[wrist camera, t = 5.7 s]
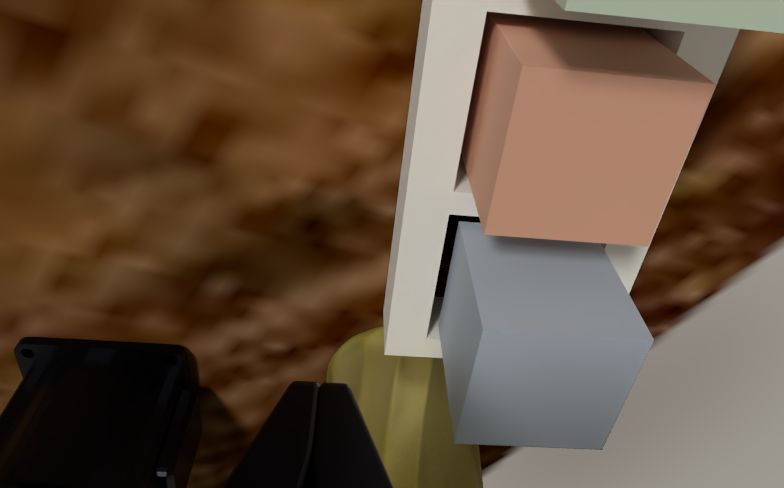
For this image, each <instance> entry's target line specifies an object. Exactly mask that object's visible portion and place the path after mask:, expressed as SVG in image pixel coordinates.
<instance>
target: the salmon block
mask: <svg viewBox="0 0 784 488" xmlns="http://www.w3.org/2000/svg"><path fill="white" fill-rule="evenodd" d="M715 86H716V84H715V83H713V82H712V81H711V80H709V79H708V78H707V77H705V76H704V75H703V74H701V73H700V72H699V71H697V70H696V69H695V68H693V67H692V66H691V65H689V64H688V63H687V62H685V61H684V60H683V59H681V58H680V57H679V56H677V55H676V54H675V53H673V52H672V51H671V50H669V49H668V48H667V47H665V46H664V45H663V44H661V43H660V42H659V41H657V40H656V39H655V38H653V37H652V36H651V35H649V34H648V33H647V32H645V31H644V30H643V29H641V28H640V27H633V26H624V25H614V24H604V23H595V22H585V21H575V20H565V19H556V18H546V17H536V16H526V15H517V14H507V13H497V12H488V11H487V14H486V19H485V25H484V30H483V35H482V41H481V46H480V52H479V57H478V62H477V68H476V73H475V79H474V84H473V89H472V95H471V100H470V106H469V111H468V116H467V122H466V127H465V133H464V138H463V143H462V149H461V154H462V157H463V161H464V165H465V168H466V172H467V176H468V179H469V183H470V186H471V190H472V194H473V197H474V201H475V204H476V208H477V212H478V215H479V219H480V223H481V226H482V230H483V233H484V235H494V236H508V237H522V238H536V239H549V240H563V241H577V242H591V243H605V244H619V245H633V246H647V247H648V246H649V244H650V241H651V239H652V237H653V234H654V232H655V229H656V227H657V225H658V222H659V220H660V217H661V215H662V213H663V210H664V208H665V205H666V203H667V201H668V198H669V196H670V193H671V191H672V189H673V186H674V184H675V181H676V179H677V177H678V174H679V172H680V170H681V167H682V165H683V162H684V160H685V158H686V155H687V153H688V150H689V148H690V146H691V143H692V141H693V138H694V136H695V134H696V131H697V129H698V126H699V124H700V122H701V119H702V117H703V114H704V112H705V110H706V107H707V105H708V102H709V100H710V98H711V95H712V93H713V91H714V88H715Z"/></svg>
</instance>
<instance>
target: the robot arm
mask: <svg viewBox="0 0 784 488" xmlns="http://www.w3.org/2000/svg"><path fill="white" fill-rule="evenodd" d="M29 349H30V350H29ZM14 353H15V356H16V359H17V362H18V365H19V368H20V371H21V374H22V376H23V380H22V382H21V383H20V385H19V386H18V388H17V390H16V391H15V393H14V394H13V396H12V398H11V399H10V401H9V402H8V404H7V406H6V407H5V409H4V410H3V412H2V413H1V415H0V488H186V487H187V483H188V479H189V476H190V472H191V469H192V465H193V461H194V458H195V454H196V451H197V447H198V443H199V440H200V436H201V433H202V424H201V415H200V406H199V397H198V393H197V392H196V390H195V389H194V388H191V386H190V377H189V369H188V361H187V354H186V351H185V350H184V349H183V348H182V347H180V346H177V345H169V344H151V343H132V342H114V341H95V340H77V339H58V338H40V337H24V338H22V339H21V340H20V341H19V343H18V344H17V346H16V347H15V349H14ZM170 356H172V357H175V358H171V357H170ZM222 488H393V485H392V483H391V481H390V478H389V476H388V474H387V471H386V469H385V467H384V464H383V462H382V460H381V457H380V455H379V453H378V450H377V448H376V446H375V443H374V441H373V439H372V436H371V434H370V432H369V429H368V427H367V425H366V423H365V420H364V418H363V416H362V413H361V411H360V409H359V406H358V404H357V402H356V399H355V397H354V395H353V392H352V390H351V388H350V387H349V385H348V384H345V383H328V382H326V383H323V384H322V385H321V387H320V385H319V384H318V383H317V382H308V381H294V382H292V383H291V384H290V385H289V387H288V388H287V390H286V391H285V393H284V394H283V396H282V397H281V399H280V400H279V402H278V403H277V405H276V406H275V408H274V409H273V411H272V412H271V414H270V415H269V417H268V418H267V420H266V421H265V423H264V424H263V426H262V427H261V429H260V430H259V432H258V433H257V435H256V436H255V438H254V439H253V441H252V442H251V444H250V445H249V447H248V449H247V450H246V452H245V453H244V455H243V456H242V458H241V459H240V461H239V462H238V464H237V465H236V467H235V468H234V470H233V471H232V473H231V474H230V476H229V477H228V479H227V480H226V482H225V483H224V485H223V486H222Z"/></svg>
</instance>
